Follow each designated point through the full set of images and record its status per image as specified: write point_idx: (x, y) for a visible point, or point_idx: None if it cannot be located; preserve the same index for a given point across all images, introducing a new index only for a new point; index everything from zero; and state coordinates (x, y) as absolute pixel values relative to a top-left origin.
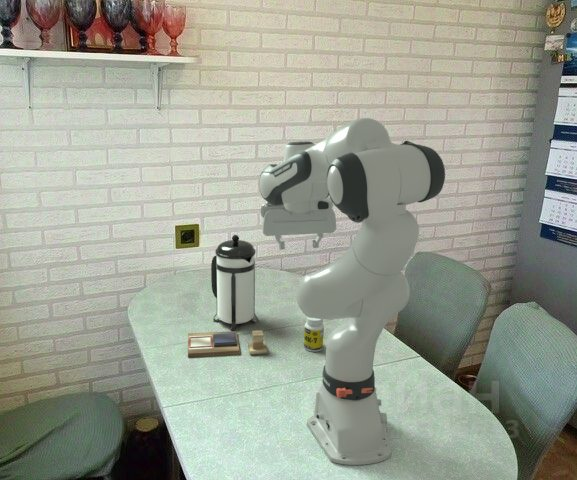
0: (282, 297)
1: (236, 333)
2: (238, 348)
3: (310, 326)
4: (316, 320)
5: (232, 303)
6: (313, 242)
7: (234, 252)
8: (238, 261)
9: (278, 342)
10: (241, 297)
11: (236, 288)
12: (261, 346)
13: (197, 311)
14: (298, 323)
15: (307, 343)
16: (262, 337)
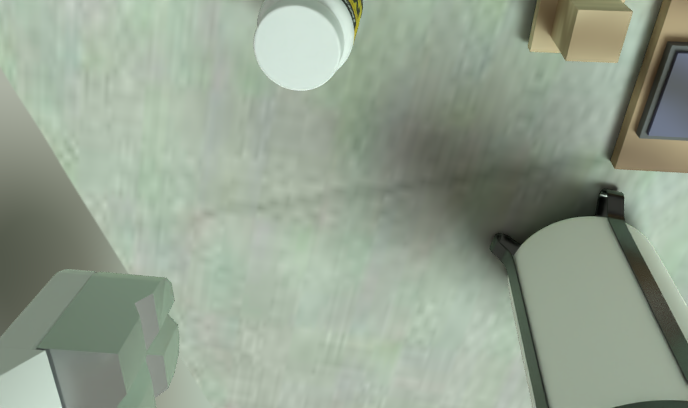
0: (358, 372)
1: (622, 149)
2: (670, 14)
3: (329, 8)
4: (293, 6)
5: (648, 275)
6: (124, 364)
7: None
8: None
9: (459, 70)
10: (611, 293)
11: (655, 330)
12: None
13: None
14: (341, 204)
15: None
16: (579, 5)
